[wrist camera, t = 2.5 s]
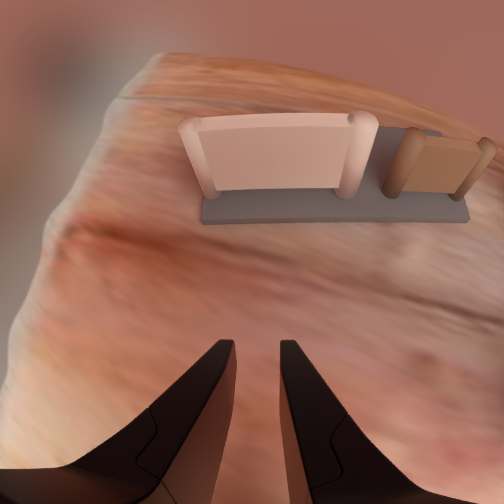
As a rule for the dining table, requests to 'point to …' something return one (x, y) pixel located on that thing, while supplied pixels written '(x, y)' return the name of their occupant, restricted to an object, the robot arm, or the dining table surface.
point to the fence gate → (279, 151)
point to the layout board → (374, 186)
